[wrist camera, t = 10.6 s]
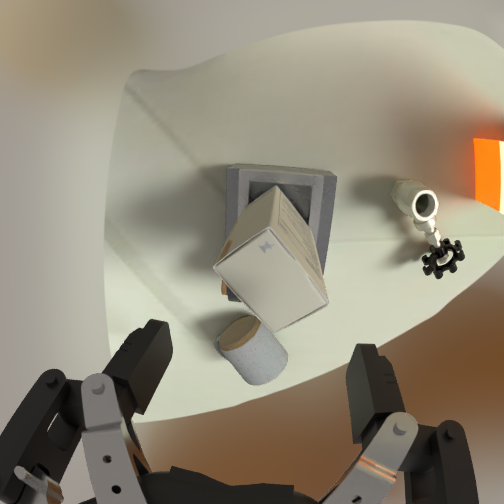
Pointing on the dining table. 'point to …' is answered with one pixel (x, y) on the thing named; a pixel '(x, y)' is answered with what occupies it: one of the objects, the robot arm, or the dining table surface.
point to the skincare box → (273, 262)
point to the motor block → (294, 188)
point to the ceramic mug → (252, 350)
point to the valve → (426, 224)
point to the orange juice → (490, 173)
